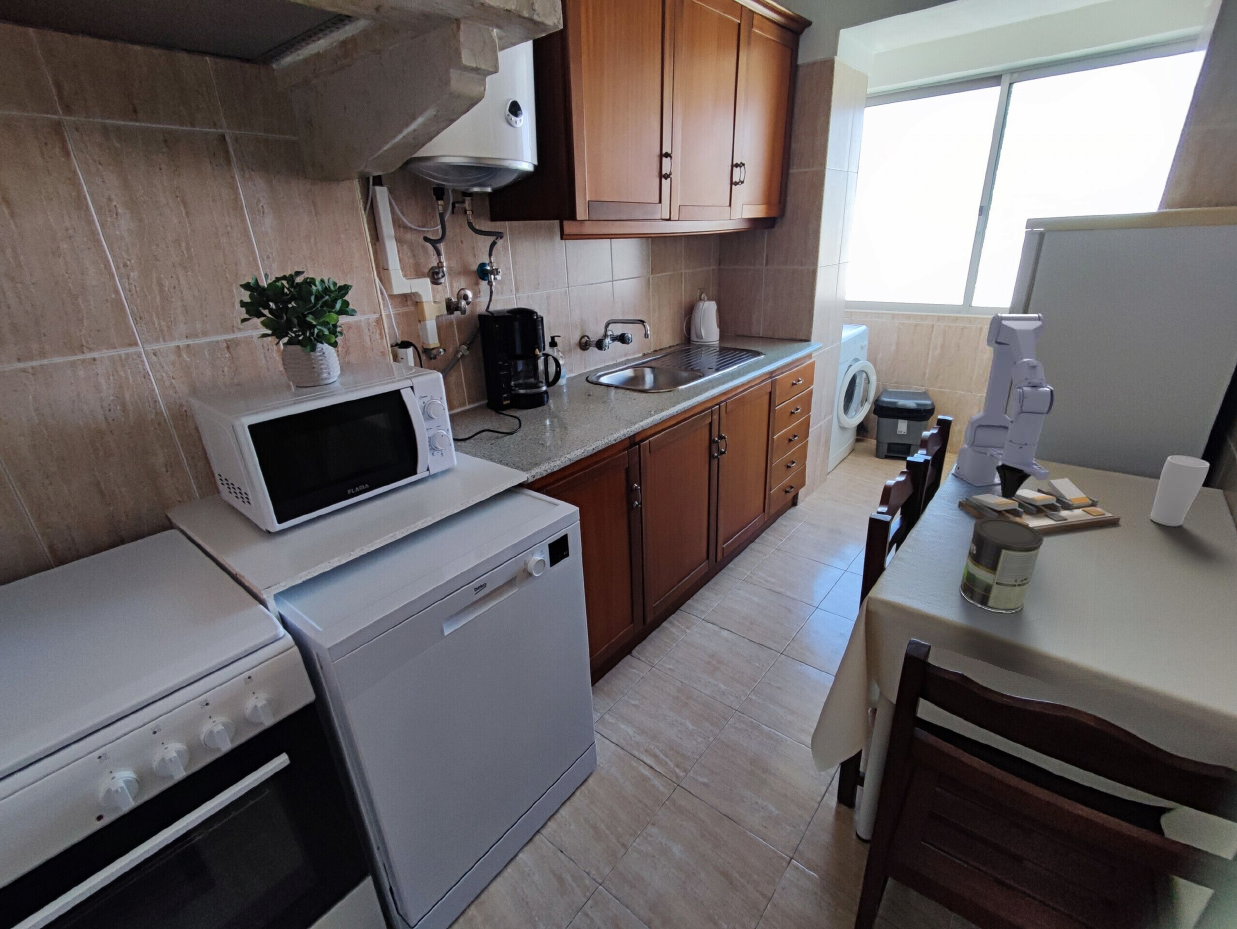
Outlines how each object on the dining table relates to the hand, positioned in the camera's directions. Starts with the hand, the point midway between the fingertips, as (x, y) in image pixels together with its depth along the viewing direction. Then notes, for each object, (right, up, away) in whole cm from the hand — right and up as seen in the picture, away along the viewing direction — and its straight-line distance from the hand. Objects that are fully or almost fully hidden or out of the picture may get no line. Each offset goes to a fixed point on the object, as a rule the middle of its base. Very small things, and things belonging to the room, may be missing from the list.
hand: (1007, 496), depth 127 cm
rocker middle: (+9, -1, +6) cm, 11 cm away
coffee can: (-19, -18, -23) cm, 35 cm away
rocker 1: (0, -2, +4) cm, 5 cm away
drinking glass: (+35, -6, -1) cm, 36 cm away
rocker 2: (+19, 0, +7) cm, 21 cm away
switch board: (+10, -5, +5) cm, 12 cm away
